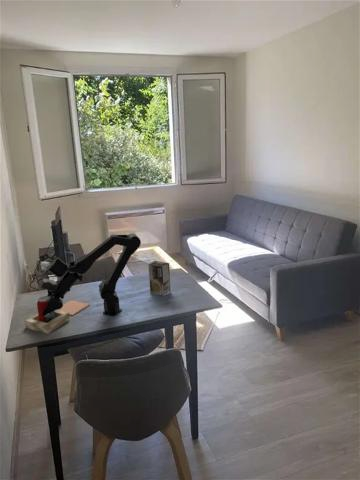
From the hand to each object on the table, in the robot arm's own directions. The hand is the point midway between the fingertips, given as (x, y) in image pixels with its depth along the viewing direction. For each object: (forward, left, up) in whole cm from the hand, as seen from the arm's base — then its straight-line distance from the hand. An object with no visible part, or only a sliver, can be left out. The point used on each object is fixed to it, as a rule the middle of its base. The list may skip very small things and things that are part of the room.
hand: (42, 310), depth 156 cm
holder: (-1, -1, -7) cm, 7 cm away
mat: (0, -17, -7) cm, 18 cm away
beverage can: (-1, -1, -7) cm, 7 cm away
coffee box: (-31, -49, -7) cm, 58 cm away
